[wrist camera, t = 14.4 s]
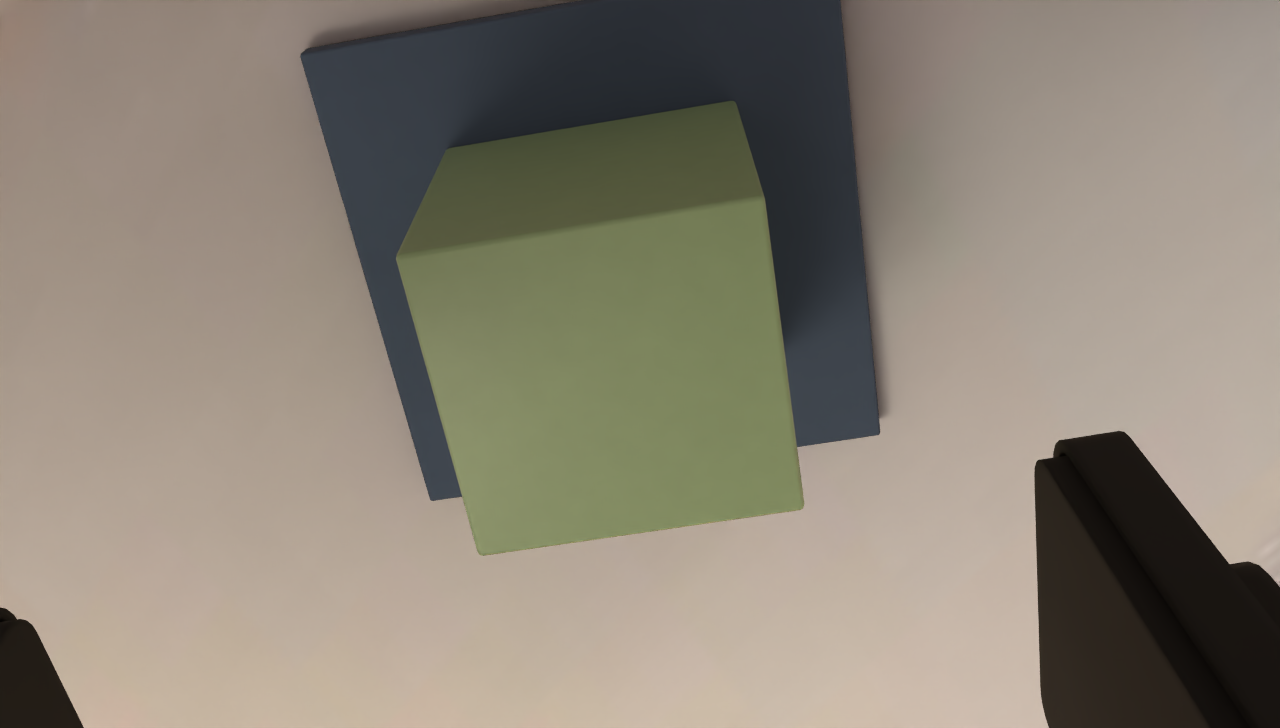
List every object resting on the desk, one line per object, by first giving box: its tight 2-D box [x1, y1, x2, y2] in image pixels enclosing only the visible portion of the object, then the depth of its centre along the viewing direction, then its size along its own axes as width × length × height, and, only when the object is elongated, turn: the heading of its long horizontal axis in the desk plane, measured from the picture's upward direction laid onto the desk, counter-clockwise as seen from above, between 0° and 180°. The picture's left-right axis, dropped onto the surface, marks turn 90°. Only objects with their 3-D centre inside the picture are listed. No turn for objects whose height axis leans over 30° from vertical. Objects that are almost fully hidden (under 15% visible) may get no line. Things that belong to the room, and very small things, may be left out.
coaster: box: [300, 0, 880, 501], centre depth 20 cm, size 8×8×1 cm
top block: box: [396, 101, 804, 556], centre depth 17 cm, size 4×4×4 cm
